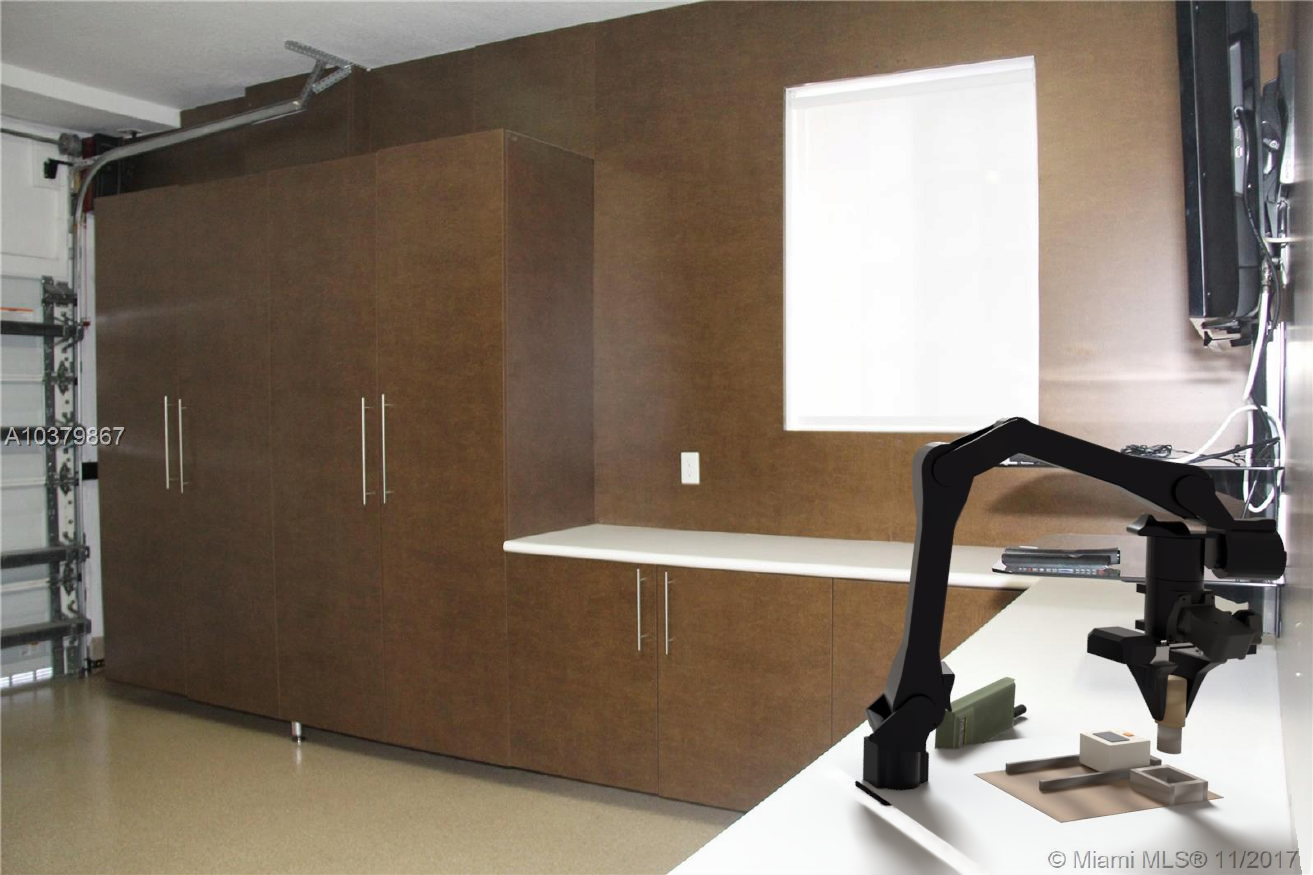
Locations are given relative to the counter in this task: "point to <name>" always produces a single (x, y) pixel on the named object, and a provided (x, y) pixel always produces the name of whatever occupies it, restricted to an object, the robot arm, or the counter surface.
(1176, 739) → the tan rounded cylinder
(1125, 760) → the box
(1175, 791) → the board
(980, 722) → the handheld radio
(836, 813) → the counter surface
